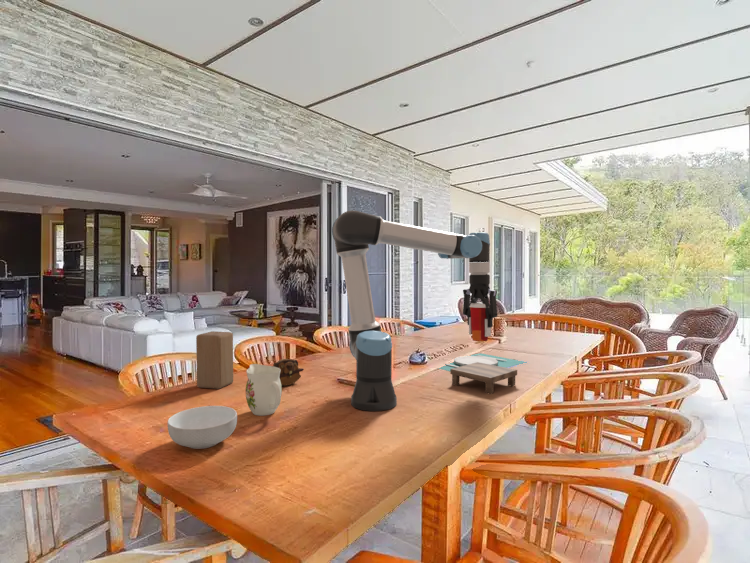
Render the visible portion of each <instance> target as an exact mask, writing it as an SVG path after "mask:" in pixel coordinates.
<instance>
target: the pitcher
mask: <svg viewBox="0 0 750 563" xmlns="http://www.w3.org/2000/svg"><path fill="white" fill-rule="evenodd" d="M280 371H281V369H280V368H277V367H274V366H273V365H265V364H260V363H259V364H258V363H251V364H249V367H248V368H247V369H246V376H247V381H246V385H245V399H246V404H247V405H248V408H249V410H250V411H251V412H252V414H253V415H255V416H260V417H262V416H269V415H273V414H274V413H275V412H276V410H277V409H278V408H279V407H280V405H281V399H282V393H283V390H282V389H283V385H281V381H280V378H279V376H280Z"/></svg>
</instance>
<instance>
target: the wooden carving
mask: <svg viewBox="0 0 750 563" xmlns="http://www.w3.org/2000/svg"><path fill="white" fill-rule="evenodd" d="M272 366H274V367H277V368H280V369H281V371H280V376H279V378H280V381H281V385H282V386H284V387H285V386H290V385H293V384H295V383H296V382H298V381H299V379H301V377H302V375H301V374H300V372H303V371H304V370H305V369H304V368H299V362H298V360H297V359H291V358H282V359H279V360H278V361H277V362H273V364H272Z"/></svg>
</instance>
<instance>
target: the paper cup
mask: <svg viewBox="0 0 750 563" xmlns="http://www.w3.org/2000/svg"><path fill="white" fill-rule="evenodd" d="M469 307H470V310H471V326H472V334H471V338H472V341H474V342H488V340H489V336H488V337H485V319H486V318H487V317H486V313H485V308H486V307H485V304H483V303H482V301H481V302H480V301H479V302H478V301H477V303H471V304H470V306H469Z"/></svg>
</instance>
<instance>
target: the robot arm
mask: <svg viewBox="0 0 750 563" xmlns="http://www.w3.org/2000/svg"><path fill="white" fill-rule="evenodd" d="M331 236H332V238H333V240H334V244H335V250H336V251H335V252H336V255H338V256H339V257H341V261H342V268H343V275H344V280H345V288H346V294H347V301H348V307H349V316H350V320H351V324H350V325H349V327H348V328H347V329H348V335H349V336H348V337H349V346H348V347H349V351H350V353H351V355H352V356H353V358H354V359H355V361H356V362H355V363H356V366H355V367H356V374H355V375H356V380H355V385H354V388H353V390H352V391H353V392H352V394H351V397H350V405H351V406H352V407H353V408H355V409H357V410H360V411H361V410H362V411H365V412H366V411H368V412H379V411H381V412H382V411H387V410H390V409H394V408H395V407H396V406H397V404H398V401H397V399H398V398H397V395H396V393H395V388H394V387H395V386H394V385H393V382H392V374H393V373H392V365H393V364H392V359H393V357H392V356H393V354H392V353H393V342H392V337H391V335H390V334H388V333H387V332H383V331H382V328H381V323H380V322H379V321H377V320H376V316H375V315H376V314H375V309H374V303H373V296H372V289H371V283H370V282H371V281H370V276H369V269H368V268H369V267H368V264H367V261H368V260H367V256H366V255H367V253H368V251H369V249H370V247H369V246H370V245H371V246H377V245H379V244H384V245H390V246H396V247H402V248H408V249H412V250H420V251H423V252H431V253H436V254H437V255H438V257H439V258H440V259H446V260H449V259H450V260H451V259H468V262H469V263H468V273H469V275H468V281H469V282H468V283H469V288H467V289H463V290H462V293H463V305H462V306H463V307H462V315H463V316H466V317H467V323H466V324H467V326H468V335H471V336H472V326H471V310H470V307H469V306H470V304H471V303H477V302H478V301H479V300H480V301H481V302H482V303H483V304H485V307H486V308H485V313H486V317H487V318H486V319H485V337H488V338H489V337H492V328H493V321H494V320H493V319H494V318H497V317H498V307H497V305H498V304H497V293H498V292H497V290H496V289H491V287H490V282H491V281H490V279H491V278H490V277H491V276H490V274H489V273H491V272H490V268H491V267H490V266H491V265H490V252H491V251H490V249H491V248H490V246H491V243H490V241H491V240H490V235H489V233H488V232H480V231H477V232H470V233H469V234H468V235H466V234H465V235H464V234H459V233H454V232H448V231H443V230H438V229H435V228H434V229H432V228H428V227H422V226H416V225H411V224H406V223H405V224H404V223H401V222H396V221H389V220H384V219H383V217H382V216H380V215H376V214H370V213H366V212H363V211H359V210H347V211H344V212H343V213H342V214H341V213H340V215H339V216H338V217H337V218H336V219H335V220H334V222H333V224H332V228H331Z"/></svg>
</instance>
